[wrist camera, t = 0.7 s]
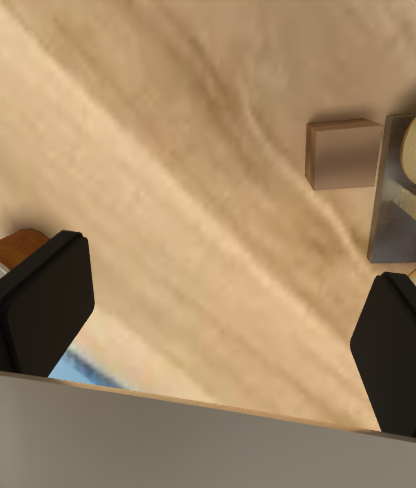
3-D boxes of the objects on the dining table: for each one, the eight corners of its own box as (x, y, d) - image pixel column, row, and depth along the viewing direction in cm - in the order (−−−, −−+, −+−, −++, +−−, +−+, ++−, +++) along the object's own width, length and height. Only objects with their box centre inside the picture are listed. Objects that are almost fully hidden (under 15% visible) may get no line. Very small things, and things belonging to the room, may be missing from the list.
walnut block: (306, 123, 36) (316, 131, 31) (362, 118, 35) (382, 125, 30) (304, 175, 39) (313, 190, 33) (356, 171, 38) (374, 186, 32)
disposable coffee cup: (72, 238, 47) (20, 285, 36) (54, 282, 51) (4, 335, 40) (11, 206, 45) (-61, 245, 35) (-2, 254, 50) (-69, 302, 39)
